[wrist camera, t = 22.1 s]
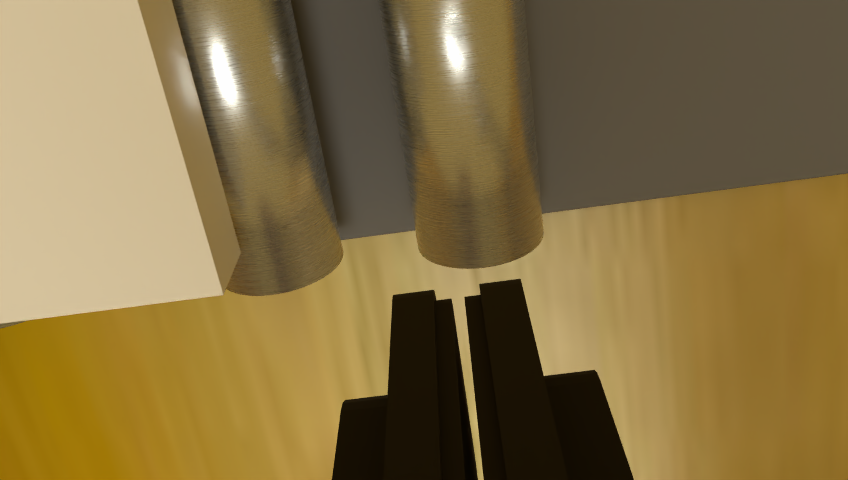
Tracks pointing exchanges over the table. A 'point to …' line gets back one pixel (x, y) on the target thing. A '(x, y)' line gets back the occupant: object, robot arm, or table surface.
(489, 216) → the roller
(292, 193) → the roller
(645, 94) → the runway
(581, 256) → the table surface
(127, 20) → the slab
